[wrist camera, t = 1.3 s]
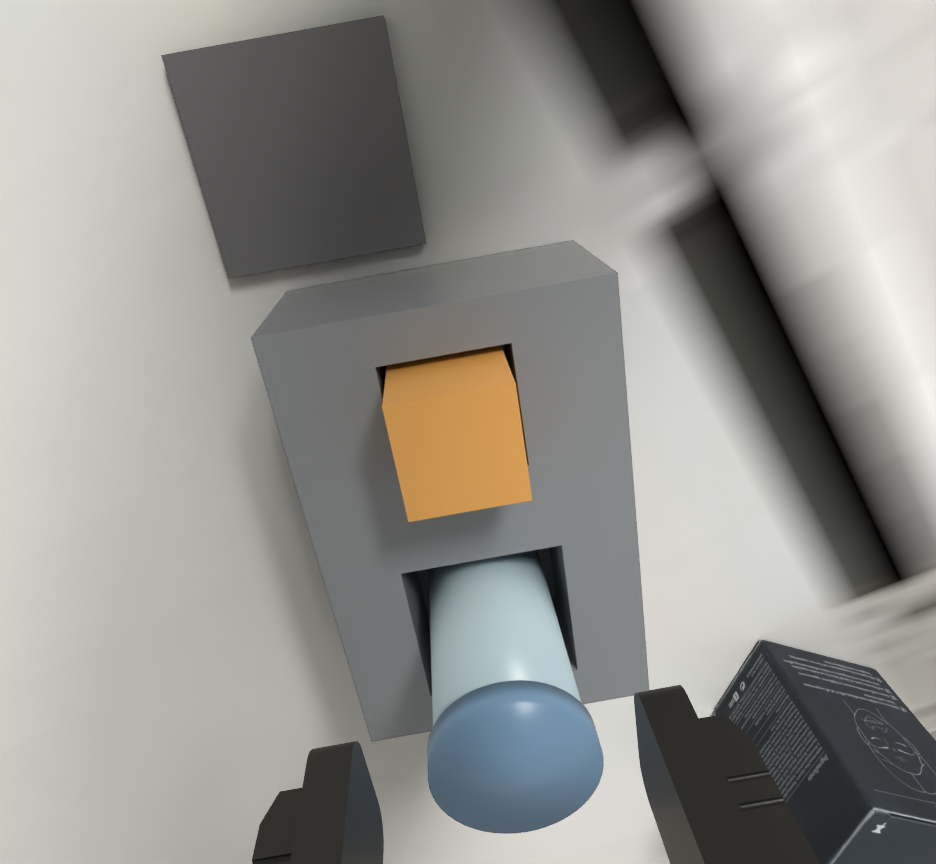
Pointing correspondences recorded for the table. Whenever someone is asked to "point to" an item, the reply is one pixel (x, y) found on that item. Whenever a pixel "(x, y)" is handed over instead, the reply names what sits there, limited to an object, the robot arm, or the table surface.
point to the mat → (299, 145)
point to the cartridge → (505, 700)
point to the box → (840, 754)
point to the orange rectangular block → (456, 433)
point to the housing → (475, 532)
